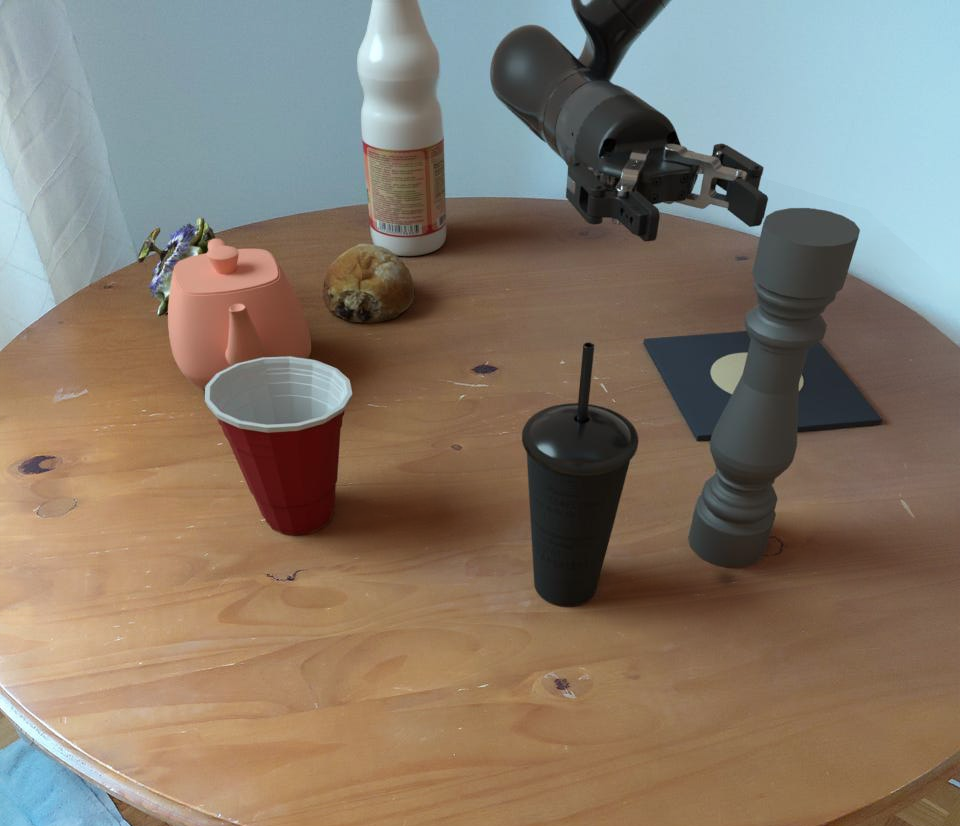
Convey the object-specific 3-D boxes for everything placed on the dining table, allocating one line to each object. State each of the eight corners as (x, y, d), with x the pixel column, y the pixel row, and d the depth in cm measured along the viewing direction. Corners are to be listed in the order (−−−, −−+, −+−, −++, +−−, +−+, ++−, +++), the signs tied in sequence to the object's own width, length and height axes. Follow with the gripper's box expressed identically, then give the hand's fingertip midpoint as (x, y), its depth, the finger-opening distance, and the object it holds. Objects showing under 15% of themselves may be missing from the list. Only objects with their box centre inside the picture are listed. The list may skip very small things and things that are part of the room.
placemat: (805, 331, 95) (807, 325, 95) (881, 424, 83) (883, 418, 83) (643, 343, 94) (643, 337, 93) (696, 441, 81) (697, 434, 81)
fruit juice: (393, 264, 107) (372, -22, 86) (358, 236, 112) (330, -39, 92) (460, 246, 110) (456, -33, 89) (423, 220, 115) (410, -49, 95)
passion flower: (183, 357, 102) (138, 251, 99) (272, 326, 103) (230, 220, 100) (165, 347, 91) (114, 227, 88) (265, 312, 92) (218, 192, 89)
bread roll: (422, 339, 101) (442, 266, 98) (357, 332, 94) (375, 253, 90) (365, 310, 106) (381, 240, 103) (298, 301, 98) (313, 225, 95)
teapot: (192, 441, 82) (157, 315, 73) (171, 338, 94) (139, 220, 86) (335, 415, 84) (317, 291, 76) (296, 318, 97) (277, 203, 88)
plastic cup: (393, 512, 74) (381, 384, 66) (289, 574, 69) (261, 444, 60) (313, 458, 80) (292, 333, 71) (210, 512, 74) (174, 385, 66)
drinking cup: (543, 632, 65) (562, 389, 50) (499, 568, 70) (505, 329, 55) (634, 602, 67) (677, 361, 52) (585, 542, 72) (612, 305, 57)
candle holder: (767, 572, 69) (870, 252, 51) (687, 562, 70) (760, 244, 52) (764, 522, 74) (858, 209, 55) (688, 514, 74) (757, 202, 56)
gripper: (536, 101, 70) (624, 175, 59) (698, 85, 73) (808, 152, 62) (532, 201, 75) (611, 285, 65) (683, 182, 78) (781, 259, 68)
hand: (708, 220), depth 64 cm, fingers open, 8 cm apart
